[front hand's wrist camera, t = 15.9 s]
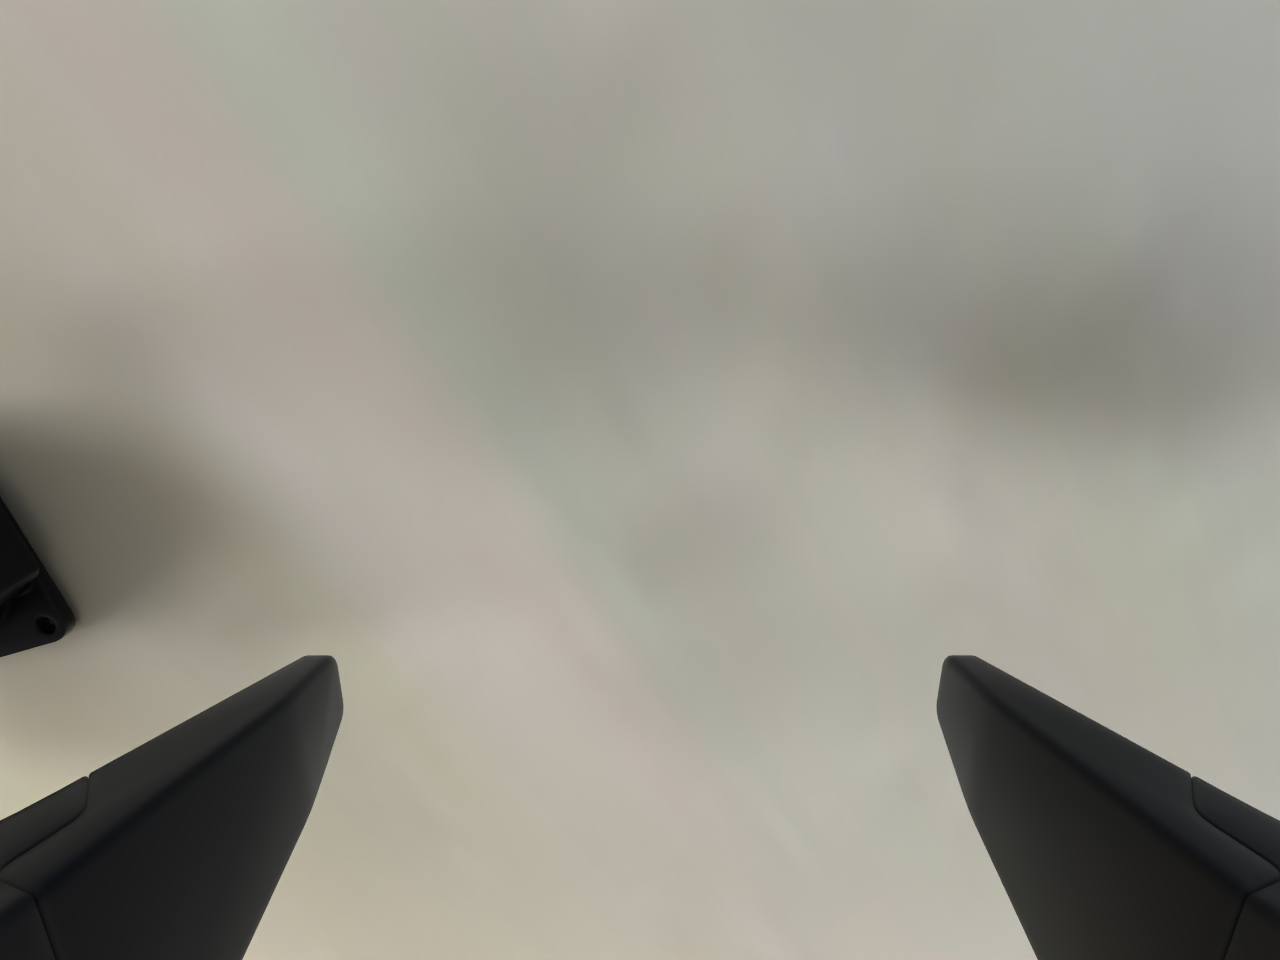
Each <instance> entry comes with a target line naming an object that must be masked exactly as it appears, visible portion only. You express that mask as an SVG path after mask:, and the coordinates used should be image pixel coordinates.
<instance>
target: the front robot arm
mask: <svg viewBox="0 0 1280 960" xmlns="http://www.w3.org/2000/svg"><path fill="white" fill-rule="evenodd" d="M47 618H49V619H51V620H52V621H53V622H54V623H55V625H53V624H51V623H50V622H49V621H48V619H47ZM75 620H76V619H75V617H74V614H73V612H72V610H71V609H70V607H69V606H68V604H67V602H66V601H65V599H64V598H63V596H62V595H61V593H60V591H59V590H58V588H57V587H56V585H55V583H54V582H53V580H52V579H51V577H50V575H49V574H48V572H47V571H46V569H45V567H44V566H43V564H42V563H41V561H40V559H39V558H38V556H37V555H36V553H35V552H34V550H33V548H32V547H31V545H30V544H29V542H28V540H27V539H26V537H25V536H24V534H23V532H22V531H21V529H20V528H19V526H18V524H17V523H16V521H15V520H14V518H13V516H12V515H11V513H10V512H9V510H8V509H7V507H6V505H5V504H4V502H3V501H2V499H1V497H0V657H3V656H6V655H10V654H13V653H17V652H20V651H24V650H27V649H31V648H34V647H38V646H41V645H45V644H48V643H52V642H55V641H57V640H59V639H61V638H63V637H64V636H65V635H66V634H68V633H69V632H70V631H72V629H73V628H74V626H75ZM342 715H343V698H342V692H341V685H340V679H339V672H338V666H337V663H336V660H335V659H334V658H333V657H332V656H328V655H308V656H304V657H302V658H300V659H298V660H296V661H294V662H293V663H291V664H289V665H287V666H285V667H284V668H282V669H280V670H278V671H276V672H274V673H273V674H271V675H269V676H267V677H265V678H263V679H262V680H260V681H258V682H256V683H254V684H252V685H251V686H249V687H247V688H245V689H243V690H241V691H240V692H238V693H236V694H234V695H232V696H230V697H229V698H227V699H225V700H223V701H221V702H219V703H218V704H216V705H214V706H212V707H210V708H209V709H207V710H205V711H203V712H201V713H199V714H198V715H196V716H194V717H192V718H190V719H188V720H187V721H185V722H183V723H181V724H179V725H177V726H176V727H174V728H172V729H170V730H168V731H166V732H165V733H163V734H161V735H159V736H157V737H155V738H154V739H152V740H150V741H148V742H146V743H144V744H143V745H141V746H139V747H137V748H135V749H134V750H132V751H130V752H128V753H126V754H124V755H123V756H121V757H119V758H117V759H115V760H113V761H112V762H110V763H108V764H106V765H104V766H102V767H101V768H99V769H97V770H95V771H93V772H92V773H90V775H89V778H88V777H86V776H84V777H82V778H80V779H78V780H76V781H75V782H73V783H71V784H69V785H67V786H66V787H64V788H62V789H60V790H58V791H56V792H55V793H53V794H51V795H49V796H47V797H45V798H43V799H41V800H39V801H38V802H36V803H34V804H32V805H30V806H28V807H26V808H24V809H22V810H21V811H19V812H17V813H15V814H13V815H11V816H9V817H7V818H5V819H3V820H1V821H0V960H242V959H243V957H244V955H245V952H246V950H247V948H248V946H249V944H250V942H251V940H252V937H253V935H254V933H255V931H256V929H257V927H258V924H259V922H260V920H261V918H262V916H263V914H264V912H265V909H266V907H267V905H268V903H269V901H270V899H271V896H272V894H273V892H274V890H275V888H276V886H277V884H278V881H279V879H280V877H281V875H282V873H283V871H284V869H285V866H286V864H287V862H288V860H289V858H290V856H291V853H292V851H293V849H294V847H295V845H296V843H297V841H298V838H299V836H300V834H301V832H302V830H303V828H304V825H305V823H306V821H307V818H308V816H309V814H310V812H311V809H312V806H313V804H314V801H315V798H316V795H317V792H318V789H319V786H320V783H321V780H322V777H323V774H324V771H325V768H326V765H327V762H328V759H329V756H330V753H331V750H332V747H333V744H334V741H335V738H336V735H337V732H338V729H339V726H340V723H341V720H342ZM937 715H938V720H939V723H940V726H941V729H942V732H943V735H944V738H945V741H946V744H947V747H948V750H949V753H950V756H951V759H952V762H953V765H954V768H955V771H956V774H957V777H958V780H959V783H960V786H961V789H962V792H963V795H964V798H965V801H966V804H967V806H968V809H969V812H970V814H971V816H972V818H973V821H974V823H975V825H976V828H977V830H978V832H979V834H980V836H981V838H982V841H983V843H984V845H985V847H986V849H987V851H988V853H989V856H990V858H991V860H992V862H993V864H994V866H995V869H996V871H997V873H998V875H999V877H1000V879H1001V881H1002V884H1003V886H1004V888H1005V890H1006V892H1007V894H1008V896H1009V899H1010V901H1011V903H1012V905H1013V907H1014V909H1015V912H1016V914H1017V916H1018V918H1019V920H1020V922H1021V924H1022V927H1023V929H1024V931H1025V933H1026V935H1027V937H1028V940H1029V942H1030V944H1031V946H1032V948H1033V950H1034V952H1035V955H1036V957H1037V959H1038V960H1280V821H1279V820H1277V819H1275V818H1273V817H1271V816H1269V815H1267V814H1265V813H1263V812H1261V811H1259V810H1258V809H1256V808H1254V807H1252V806H1250V805H1248V804H1246V803H1244V802H1242V801H1241V800H1239V799H1237V798H1235V797H1233V796H1231V795H1229V794H1227V793H1225V792H1224V791H1222V790H1220V789H1218V788H1216V787H1214V786H1213V785H1211V784H1209V783H1207V782H1205V781H1204V780H1202V779H1200V778H1198V777H1196V776H1194V777H1192V778H1191V775H1190V773H1189V772H1187V771H1185V770H1183V769H1181V768H1179V767H1178V766H1176V765H1174V764H1172V763H1170V762H1168V761H1167V760H1165V759H1163V758H1161V757H1159V756H1158V755H1156V754H1154V753H1152V752H1150V751H1148V750H1147V749H1145V748H1143V747H1141V746H1139V745H1137V744H1136V743H1134V742H1132V741H1130V740H1128V739H1126V738H1125V737H1123V736H1121V735H1119V734H1117V733H1115V732H1114V731H1112V730H1110V729H1108V728H1106V727H1104V726H1103V725H1101V724H1099V723H1097V722H1095V721H1093V720H1092V719H1090V718H1088V717H1086V716H1084V715H1082V714H1081V713H1079V712H1077V711H1075V710H1073V709H1071V708H1070V707H1068V706H1066V705H1064V704H1062V703H1060V702H1059V701H1057V700H1055V699H1053V698H1051V697H1050V696H1048V695H1046V694H1044V693H1042V692H1040V691H1039V690H1037V689H1035V688H1033V687H1031V686H1029V685H1028V684H1026V683H1024V682H1022V681H1020V680H1018V679H1017V678H1015V677H1013V676H1011V675H1009V674H1007V673H1006V672H1004V671H1002V670H1000V669H998V668H996V667H995V666H993V665H991V664H989V663H987V662H986V661H984V660H982V659H980V658H978V657H976V656H972V655H952V656H948V657H947V658H946V659H945V660H944V663H943V666H942V672H941V679H940V685H939V692H938V698H937Z"/></svg>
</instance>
